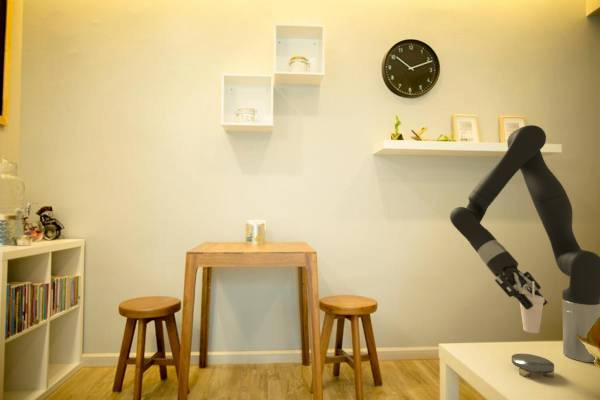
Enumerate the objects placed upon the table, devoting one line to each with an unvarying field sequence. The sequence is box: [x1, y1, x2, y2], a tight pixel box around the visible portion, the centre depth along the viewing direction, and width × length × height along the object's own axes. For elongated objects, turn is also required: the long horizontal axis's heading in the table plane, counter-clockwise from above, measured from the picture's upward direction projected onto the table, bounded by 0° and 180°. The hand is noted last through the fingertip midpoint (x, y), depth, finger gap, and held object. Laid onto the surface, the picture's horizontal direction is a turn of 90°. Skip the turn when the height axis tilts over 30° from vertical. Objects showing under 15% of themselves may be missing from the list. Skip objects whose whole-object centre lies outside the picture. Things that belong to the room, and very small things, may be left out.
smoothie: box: [519, 281, 546, 334], centre depth 100 cm, size 6×6×14 cm
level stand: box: [511, 353, 555, 379], centre depth 99 cm, size 10×10×3 cm
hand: (537, 306), depth 98 cm, fingers closed on smoothie, 6 cm apart
